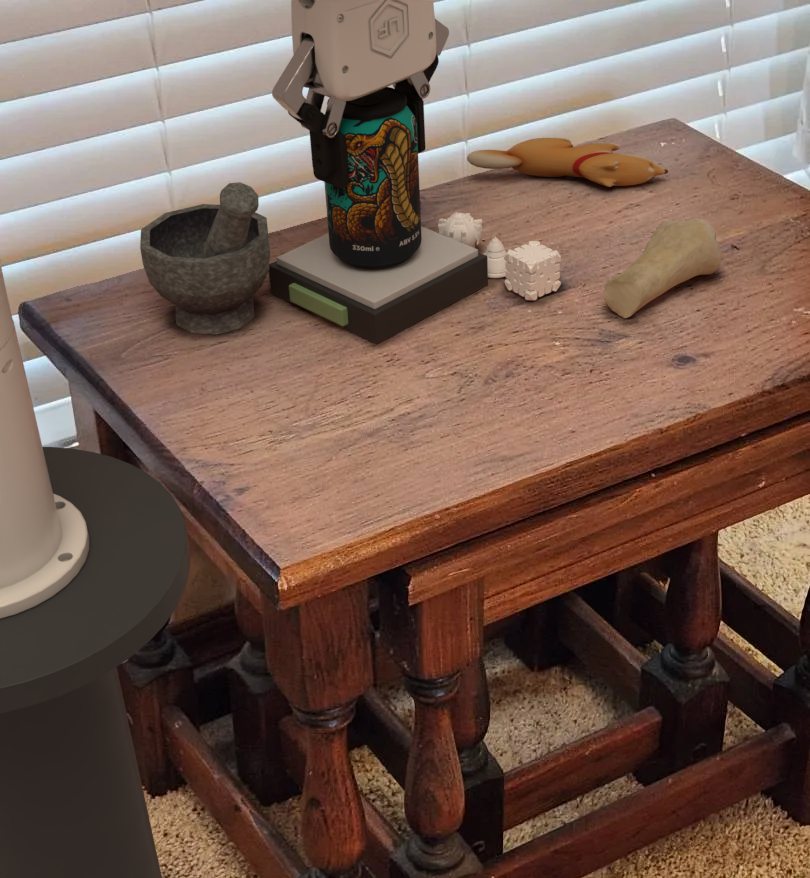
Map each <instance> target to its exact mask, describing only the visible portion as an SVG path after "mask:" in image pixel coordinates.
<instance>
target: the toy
mask: <svg viewBox="0 0 810 878" xmlns="http://www.w3.org/2000/svg"><path fill="white" fill-rule="evenodd" d="M621 148H622V147H621V145H620V144H618V143H613V142H611V143H610V142H593V143H588V144H582V145H578V146H574V144H573V143H572V141H571V139H569V138H566V137H537V138H531V139H527V140H524V141H521V142H518V143H516V144H515V145H513V146H512V147H510V148H509V149H507V150H500V149H499V150H498V149H480V150H475V151H472V152H470V153H468V154H467V156H466V160H467V162H468V163H469V164H470V165H472V166H474V167H476V168H480V169H486V170H487V169H488V170H504V169H513V170H514V171H516V172H519V173H522V174H525V175H528V176H534V177H543V178H544V177H545V178H557V177H558V178H560V177H565V176H570V177H576V178H577V177H578V178H585V179H587V180H589V181H591V182H593V183H595V184H599V185H602V186H604V187H607V188H611V187H613V186H614V187H625V186H626V187H627V186H635V185H640V184H644V183H646V182H648V181H650V180H651V179H653V178H655V177H658V176H662V175H666V174H668V173H669V170H668V169H666V168H665V166H662V165H659V164H657V163H655V162H654V161H653V160H651V158H648V157H646V156H642V155H638V154H632V153H623V152H622V153H621V152H615V151H618V150H620V149H621Z"/></svg>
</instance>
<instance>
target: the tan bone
mask: <svg viewBox="0 0 810 878" xmlns="http://www.w3.org/2000/svg"><path fill="white" fill-rule="evenodd" d="M723 253H724V252H723V250H722V248H721V247H720V243H719V242H718V240H717V234H716V231H715V229H714V227H713V226H712V225H711V223H710V222H708V221H707V220H705V219H703V218H695V217H692V218H689V219H684V220H675V219H672V220H671V219H670V220H666V221H662V222H660V223H659V224H658V226H657V227H656V228H655V230H654V231H653V233H652V234H651V237H650V239H649V241H648V242H647V243H646V245H645V247H644V249H643V252H642V254H641V255H640V257H639V258H638V259H637V260H636V261H635V262H633V263H632V264H631V265H630V266H629V267H627V269H625V270H624V271H623V272H620V273H619V274H618V275H616V276H615V277H613V278H611V279H610V280H609V281H608V282H606V284H605V285H604V286H603V289H604V290H603V295H602V297H603V300H604V301H605V302H606V304H607V306H608V307H609V308H610V310H611V311H613V313H616V314H617V315H618V316H620V317H622V318H623V319H628V318H630V317H632V316H633V315H634V314H635V313H636V312H638V311H639V310H640V309H641V308H643V307H644V306H646V305H647V304H649V303H651V301H653V300H654V299H656V298H658V297H659V296H662V294H664V293H666V292H667V291H669V290H670V289H671V288H674V287H675V286H677V285H679V284H681V283H684V282H686V281H688V280H690V279H692V278H694V277H697V276H701V275H702V276H703V275H711V274H713V273H715V272H716V271H717V270H718V268H719V267H720V265H721V262H722V261H723V260H724V255H723Z"/></svg>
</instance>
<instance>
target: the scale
mask: <svg viewBox="0 0 810 878" xmlns="http://www.w3.org/2000/svg"><path fill="white" fill-rule="evenodd" d="M421 237H422V240H421V245H420V247H419V248H418V250H417V251H416V252H415V253H414V254H413V255H412V256H411V257H410V258H409V259H408V260H406V261H405V262H403V263H401V264H398V265H396V266H392V267H388V268H382V269H363V268H357V267H354V266H350V265H348V264H346V263H344V262H343V261H341V260H340V258H339V257H337V256H336V255H335V254H334V253H333V252H332V250H331V249H330V245H329V233H328V232H327V233H325V234H323V235H321V236H318V237H316V238H314V239H312V240H310V241H308V242H306V243H304V244H302V245H300V246H297V247H295V248H293V249H292V250H289V251H286V252H285V253H282V254H280V255H278V256H276V258H275V261H272V262H270V264H269V272H268V279H269V280H268V281H269V288H270V294H271V295H274V296H276V297H277V298H280V299H282V300H284V301H286V302H288V303H290V304H292V305H294V306H296V307H298V308H299V309H303V310H305V311H307V312H309V313H311V314H313V315H315V316H318V317H319V318H321V319H324V320H325V321H328V322H330V323H332V324H333V325H335V326H337V327H340V328H342V329H344V330H346V331H348V332H350V333H352V334H354V335H357V336H359V337H361V338H363V339H365V340H367V341H369V342H370V343H373V344H375V345H378V344H380V343H382V342H384V341H387V339H389V338H391V337H393V336H395V335H397V334H399V333H400V332H403V331H404V330H406V329H409V328H410V327H412V326H413V325H416V324H417V323H420V322H421V321H423V320H426V318H429V317H430V316H433V315H435V314H436V313H438V312H440V311H441V310H444V309H445V308H447V307H449V306H451V305H453V304H455V303H457V302H459V301H460V300H462V299H464V298H466V297H469V296H470V295H471V294H473V293H476V292H477V291H479V290H481V289H482V288H485V287H487V286H488V284H489V277H488V262H487V256H486V255H484V253H481V252H479V249H478V248H476V247H475V248H473V247H471V246H468V245H466V244H463V243H461V242H458V241H456V240H454V239H451V238H449V237H446V236H444V235H441V234H439V232H436V231H435V230H431V229H429V228H426V227H424V226H422V225H421Z"/></svg>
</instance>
